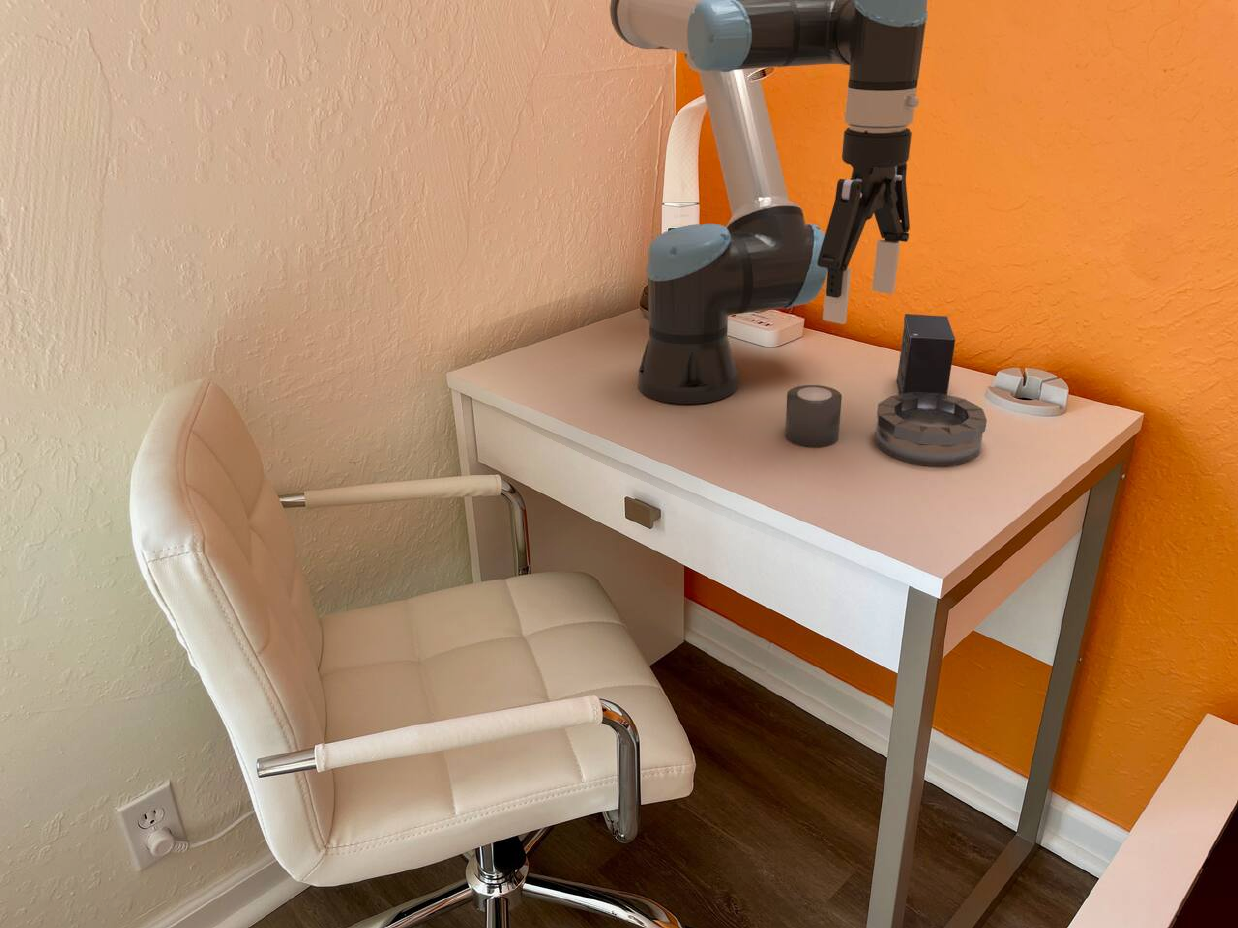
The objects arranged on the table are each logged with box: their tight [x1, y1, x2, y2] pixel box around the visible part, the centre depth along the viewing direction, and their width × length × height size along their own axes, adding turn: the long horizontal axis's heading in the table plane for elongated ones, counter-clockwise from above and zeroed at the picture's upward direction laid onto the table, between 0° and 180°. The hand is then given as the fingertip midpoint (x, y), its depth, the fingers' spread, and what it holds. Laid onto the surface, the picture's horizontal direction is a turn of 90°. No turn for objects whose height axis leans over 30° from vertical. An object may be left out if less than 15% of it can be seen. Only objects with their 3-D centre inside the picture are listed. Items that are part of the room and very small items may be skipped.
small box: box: [896, 313, 956, 395], centre depth 132 cm, size 11×6×10 cm, turn 168°
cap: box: [784, 384, 843, 449], centre depth 122 cm, size 7×7×6 cm
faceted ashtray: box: [875, 392, 987, 468], centre depth 119 cm, size 13×13×4 cm
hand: (859, 306), depth 115 cm, fingers open, 13 cm apart
